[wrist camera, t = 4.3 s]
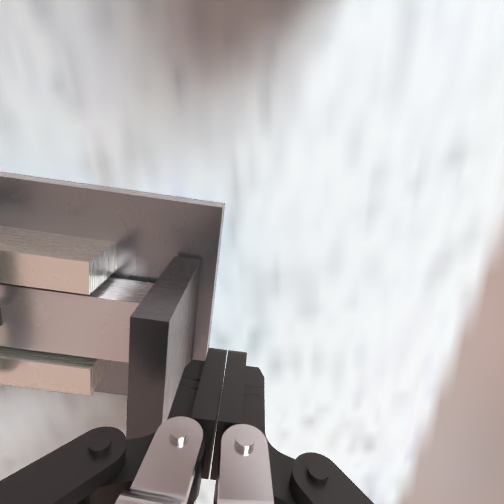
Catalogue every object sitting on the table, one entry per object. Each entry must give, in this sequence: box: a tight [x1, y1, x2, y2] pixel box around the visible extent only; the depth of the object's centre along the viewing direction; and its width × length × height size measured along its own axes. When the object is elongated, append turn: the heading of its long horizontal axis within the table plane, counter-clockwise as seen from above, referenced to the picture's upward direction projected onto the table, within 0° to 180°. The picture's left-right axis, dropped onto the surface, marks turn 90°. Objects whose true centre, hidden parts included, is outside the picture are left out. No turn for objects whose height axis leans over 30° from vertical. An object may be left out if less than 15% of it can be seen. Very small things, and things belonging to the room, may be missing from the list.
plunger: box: [0, 256, 200, 440], centre depth 14 cm, size 6×9×6 cm, turn 82°
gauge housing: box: [0, 172, 225, 396], centre depth 15 cm, size 11×14×7 cm
